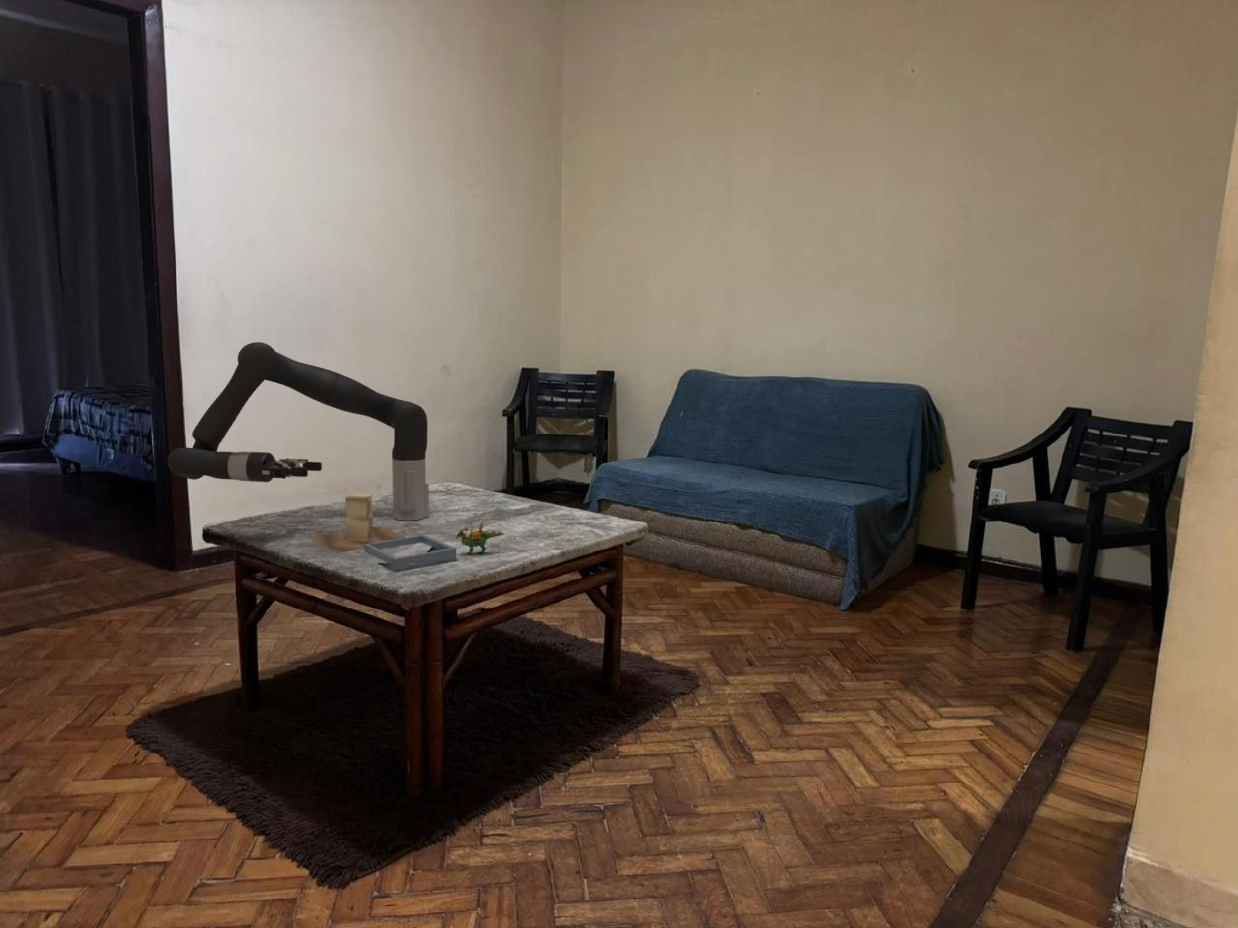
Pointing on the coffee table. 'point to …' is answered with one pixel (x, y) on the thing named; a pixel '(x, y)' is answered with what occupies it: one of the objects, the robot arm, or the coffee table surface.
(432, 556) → the box
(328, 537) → the walnut board
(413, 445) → the robot arm
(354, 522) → the maple block
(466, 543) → the figurine
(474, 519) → the coffee table surface
